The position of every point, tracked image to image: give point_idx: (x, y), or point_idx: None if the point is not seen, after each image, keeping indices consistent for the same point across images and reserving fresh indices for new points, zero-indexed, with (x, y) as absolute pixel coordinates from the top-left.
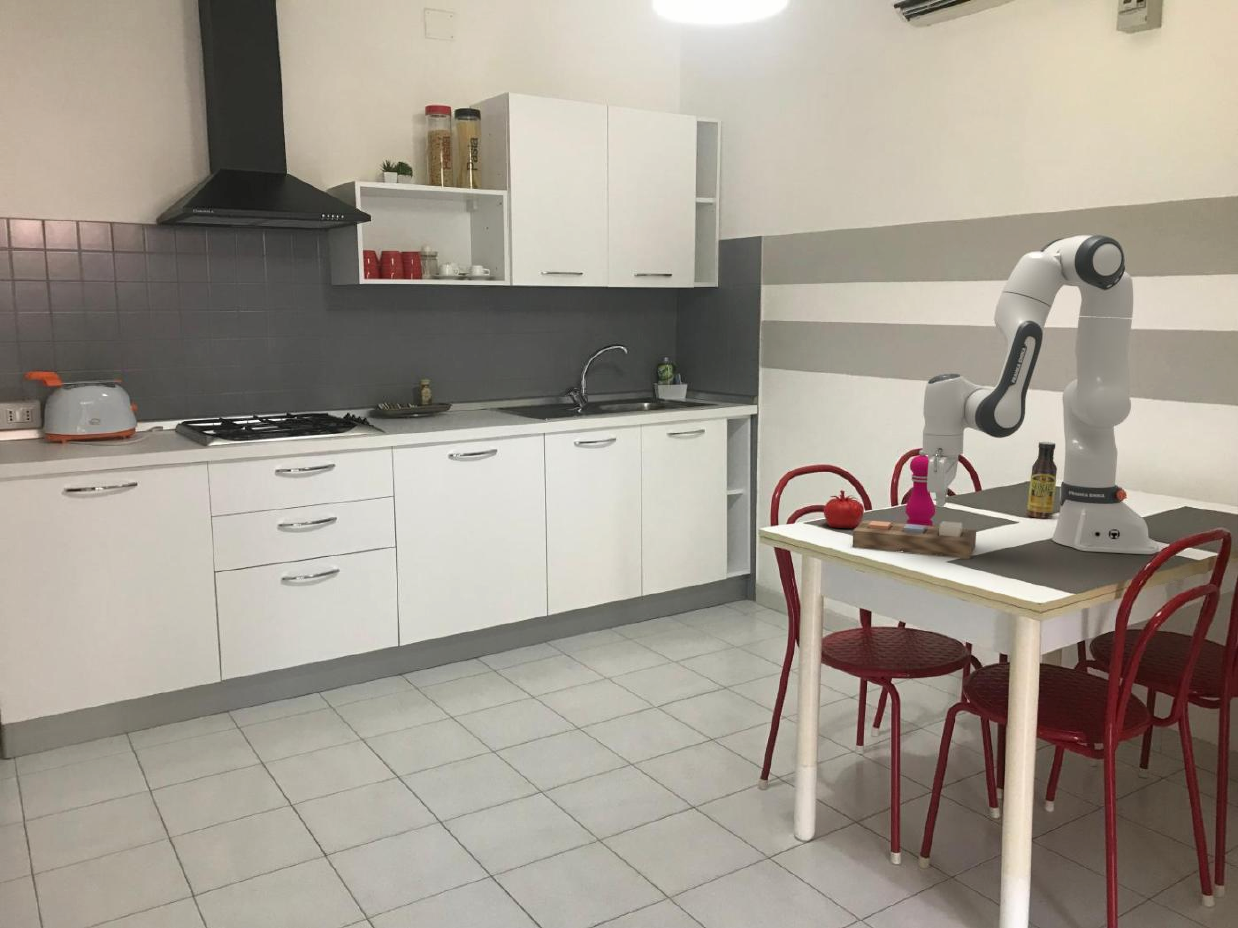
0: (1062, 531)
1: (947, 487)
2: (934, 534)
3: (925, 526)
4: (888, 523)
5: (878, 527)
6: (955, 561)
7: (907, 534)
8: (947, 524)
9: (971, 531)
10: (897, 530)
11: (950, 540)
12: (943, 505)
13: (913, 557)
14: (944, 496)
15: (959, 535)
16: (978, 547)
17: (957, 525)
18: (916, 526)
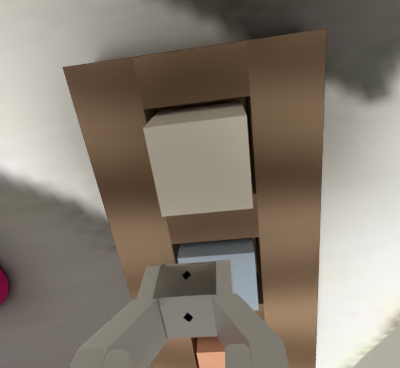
0: None
1: (99, 364)
2: (253, 204)
3: (191, 256)
4: (218, 355)
5: None
6: (361, 72)
7: (300, 279)
8: (219, 181)
9: (103, 81)
10: None
11: (322, 124)
12: (230, 263)
13: (355, 208)
14: (252, 310)
15: (236, 106)
16: (93, 49)
17: (215, 134)
18: None
